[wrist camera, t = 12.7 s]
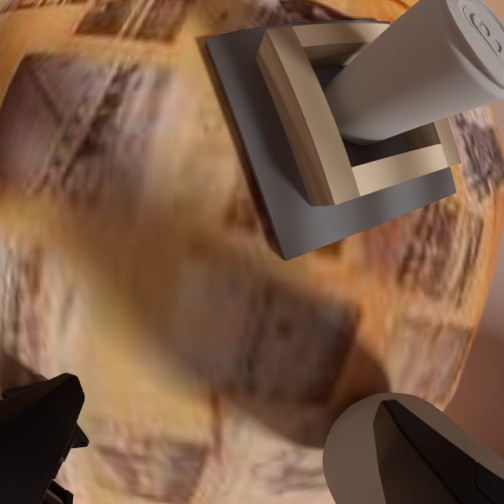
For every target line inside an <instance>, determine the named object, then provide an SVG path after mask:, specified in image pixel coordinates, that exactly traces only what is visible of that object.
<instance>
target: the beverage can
mask: <svg viewBox="0 0 504 504" xmlns="http://www.w3.org/2000/svg"><path fill="white" fill-rule="evenodd" d="M323 93H324V96H325V98H326V100H327V103H328V105H329V108H330V110H331V113H332V115H333V118H334V120H335V123H336V126H337V128H338V131H339V134H340V136H341V138H342V139H344V140H346V141H349V142H351V143H354V144H358V145H371V144H373V143H376V142H379V141H381V140H384V139H387V138H389V137H392V136H395V135H397V134H400V133H403V132H406V131H408V130H411V129H414V128H417V127H420V126H422V125H425V124H428V123H431V122H434V121H437V120H440V119H443V118H446V117H449V116H452V115H455V114H458V113H461V112H465V111H468V110H471V109H474V108H477V107H481V106H484V105H487V104H490V103H494V102H497V101H501V100H503V99H504V25H503V23H502V22H501V21H500V19H499V18H498V17H497V15H496V14H495V13H494V12H493V11H492V10H491V9H490V7H489V6H488V5H487V4H486V3H485V2H484V1H483V0H420V1H418V2H417V3H416V4H415V5H414V6H412V7H411V8H410V9H409V10H408V11H406V12H405V13H404V14H403V15H402V16H401V17H399V18H398V19H397V20H396V21H395V22H394V23H393V24H391V25H390V26H389V27H388V28H387V29H386V30H385V31H383V32H382V33H381V34H380V35H379V36H378V37H377V38H376V39H375V40H374V41H372V42H371V43H370V44H369V45H368V46H367V47H366V48H365V49H364V50H363V51H362V52H361V53H359V54H358V55H357V56H356V57H355V58H354V59H353V60H352V61H351V62H350V63H349V64H348V65H347V66H346V67H345V68H344V69H343V70H342V71H341V72H339V73H338V74H337V75H336V76H335V77H334V78H333V79H332V80H331V81H330V82H329V83H328V85H327V86H326V87H325V89H324V91H323Z"/></svg>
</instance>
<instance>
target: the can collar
mask: <svg viewBox="0 0 504 504" xmlns="http://www.w3.org/2000/svg"><path fill="white" fill-rule="evenodd" d="M390 25H391V24H390V22H389V21H369V20H332V21H312V22H299V23H289V24H280V25H272V26H265V27H259V28H252V29H247V30H241V31H236V32H231V33H226V34H222V35H217V36H213V37H209V38H206V40H205V46H206V49H207V51H208V54H209V57H210V59H211V62H212V64H213V67H214V70H215V72H216V75H217V78H218V80H219V83H220V86H221V88H222V91H223V94H224V96H225V99H226V102H227V104H228V107H229V110H230V112H231V115H232V118H233V121H234V123H235V126H236V129H237V132H238V134H239V137H240V140H241V143H242V145H243V148H244V151H245V154H246V157H247V160H248V162H249V165H250V168H251V171H252V174H253V177H254V179H255V182H256V185H257V188H258V191H259V194H260V197H261V200H262V202H263V205H264V208H265V211H266V214H267V217H268V220H269V223H270V226H271V229H272V232H273V235H274V238H275V241H276V244H277V247H278V250H279V253H280V256H281V259H283V260H285V261H287V260H289V259H292V258H294V257H297V256H300V255H302V254H305V253H308V252H310V251H313V250H315V249H318V248H320V247H323V246H326V245H328V244H331V243H333V242H336V241H338V240H341V239H344V238H346V237H349V236H351V235H354V234H356V233H359V232H361V231H364V230H366V229H369V228H371V227H374V226H376V225H379V224H381V223H384V222H386V221H389V220H391V219H394V218H396V217H399V216H401V215H404V214H406V213H409V212H411V211H413V210H416V209H418V208H421V207H423V206H426V205H428V204H430V203H433V202H435V201H438V200H440V199H443V198H445V197H447V196H450V195H452V194H454V193H456V189H455V185H454V181H453V177H452V173H451V169H450V166H453V165H456V164H459V163H461V160H460V157H459V153H458V150H457V146H456V143H455V140H454V137H453V134H452V130H451V127H450V125H449V122H448V119H447V117H446V118H443V119H440V120H437V121H434V122H431V123H428V124H425V125H422V126H420V127H417V128H414V129H411V130H408V131H406V132H403V133H400V134H397V135H395V136H392V137H389V138H387V139H384V140H381V141H379V142H376V143H373V144H371V145H358V144H354V143H351V142H349V141H346V140H344V139H342V138H341V136H340V134H339V131H338V128H337V126H336V123H335V120H334V118H333V115H332V113H331V110H330V108H329V105H328V103H327V100H326V98H325V96H324V93H323V91H324V89H325V87H326V86H327V85H328V83H329V82H330V81H331V80H332V79H333V78H334V77H335V76H336V75H337V74H338V73H339V72H341V71H342V70H343V69H344V68H345V67H346V66H347V65H348V64H349V63H350V62H351V61H352V60H353V59H354V58H355V57H356V56H357V55H358V54H359V53H361V52H362V51H363V50H364V49H365V48H366V47H367V46H368V45H369V44H370V43H371V42H372V41H374V40H375V39H376V38H377V37H378V36H379V35H380V34H381V33H382V32H383V31H385V30H386V29H387V28H388V27H389V26H390Z"/></svg>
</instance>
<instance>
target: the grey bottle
mask: <svg viewBox="0 0 504 504" xmlns="http://www.w3.org/2000/svg"><path fill="white" fill-rule="evenodd" d="M388 399H396V400H397V401H398V402H400V403H401V404H402V405H404V406H405V407H406V408H407V409H409V410H410V411H411V412H413V413H414V414H415V415H416V416H418V417H419V418H420V419H422V420H423V421H424V422H426V423H427V424H428V425H429V426H431V427H432V428H433V429H435V430H436V431H437V432H439V433H440V434H441V435H443V436H444V437H445V438H447V439H448V440H449V441H451V442H452V443H453V444H454V445H456V446H457V447H458V448H460V449H461V450H463V451H464V452H465V453H467V454H468V455H469V456H471V457H472V458H473V459H475V460H476V462H479V463H480V464H482V465H483V466H484V467H486V468H487V469H489V470H490V471H492V472H493V473H495V474H496V475H497V476H499V477H501V478H503V479H504V460H502V459H501V458H500V457H499V456H498V455H496V454H495V453H494V452H492V451H491V450H490V449H488V448H487V447H486V446H484V445H483V444H482V443H480V442H479V441H478V440H476V439H475V438H473V437H472V436H471V435H470V434H469V433H467V432H466V431H465V430H464V429H462V428H461V427H460V426H459V425H458V424H456V423H455V422H454V421H453V420H451V419H450V418H449V417H448V416H447V415H445V414H444V413H443V412H442V411H440V410H439V409H438V408H436V407H435V406H434V405H432V404H430V403H429V402H427V401H425V400H423V399H421V398H419V397H416V396H413V395H409V394H402V393H379V394H374V395H371V396H369V397H366V398H364V399H361V400H360V401H358V402H356V403H354V404H352V405H351V406H350V407H349V408H348V409H346V410H345V411H344V412H343V413H342V414H341V415H340V416H339V418H338V419H337V420H336V421H335V423H334V424H333V426H332V427H331V429H330V431H329V434H328V437H327V440H326V443H325V447H324V452H323V471H324V475H325V479H326V482H327V485H328V487H329V490H330V492H331V494H332V497H333V499H334V501H335V503H336V504H386V501H385V497H384V492H383V488H382V484H381V479H380V475H379V470H378V463H377V454H376V446H375V438H374V430H373V420H374V417H375V415H376V412H377V409H378V407H379V404H380V402H381V401H382V400H388Z"/></svg>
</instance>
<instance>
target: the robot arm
mask: <svg viewBox="0 0 504 504" xmlns="http://www.w3.org/2000/svg"><path fill="white" fill-rule="evenodd" d="M2 397H3V399H2V400H0V504H73V494H72V493H71V492H69V491H68V490H65V489H64V488H63V487H61V486H60V485H59V484H57V483H56V482H55V481H54V480H52V479H55V478H56V476H57V473H58V471H59V469H60V467H61V465H62V463H63V462H64V461H65V460H66V458H67V456H68V454H69V452H70V449H71V448H80V447H87V446H88V444H89V440H88V439H87V437H86V436H85V435H84V433H83V432H82V431H81V429H80V428H79V427H78V425H77V424H76V422H77V419H78V417H79V414H80V411H81V409H82V406H83V403H84V400H85V395H84V392H83V389H82V387H81V384H80V381H79V379H78V377H77V376H76V375H73V374H70V373H63V374H61V375H59V376H57V377H54V378H52V379H50V380H47V381H43V382H39V383H35V384H31V385H26V386H22V387H17V388H13V389H8V390H4V391H3V392H2ZM373 430H374V438H375V446H376V454H377V463H378V470H379V475H380V479H381V484H382V488H383V492H384V497H385V501H386V504H504V479H503V478H501V477H499V476H497V475H496V474H495V473H493V472H492V471H490V470H489V469H487V468H486V467H484V466H483V465H482V464H480V463H479V462H476V460H475V459H473V458H472V457H471V456H469V455H468V454H467V453H465V452H464V451H463V450H461V449H460V448H458V447H457V446H456V445H454V444H453V443H452V442H451V441H449V440H448V439H447V438H445V437H444V436H443V435H441V434H440V433H439V432H437V431H436V430H435V429H433V428H432V427H431V426H429V425H428V424H427V423H426V422H424V421H423V420H422V419H420V418H419V417H418V416H416V415H415V414H414V413H413V412H411V411H410V410H409V409H407V408H406V407H405V406H404V405H402V404H401V403H400V402H398V401H397V400H396V399H388V400H382V401H381V402H380V404H379V407H378V409H377V412H376V415H375V417H374V420H373ZM83 441H84V442H83Z"/></svg>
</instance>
